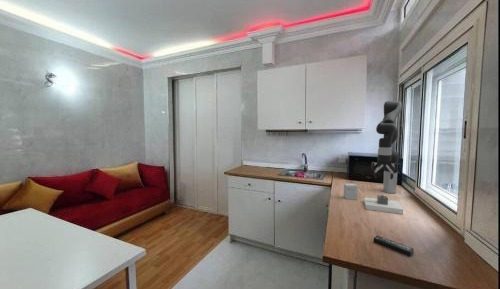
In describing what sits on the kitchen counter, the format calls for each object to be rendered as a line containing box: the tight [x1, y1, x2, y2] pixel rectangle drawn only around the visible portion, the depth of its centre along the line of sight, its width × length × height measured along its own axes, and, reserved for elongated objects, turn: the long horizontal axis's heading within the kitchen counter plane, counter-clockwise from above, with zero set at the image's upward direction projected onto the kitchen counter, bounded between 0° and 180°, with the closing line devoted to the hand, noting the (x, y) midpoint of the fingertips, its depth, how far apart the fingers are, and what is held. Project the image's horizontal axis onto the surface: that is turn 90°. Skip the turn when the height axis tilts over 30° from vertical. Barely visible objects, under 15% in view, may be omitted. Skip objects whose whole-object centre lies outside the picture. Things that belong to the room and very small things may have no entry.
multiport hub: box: [373, 235, 415, 257], centre depth 97 cm, size 4×14×2 cm, turn 38°
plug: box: [376, 194, 389, 205], centre depth 144 cm, size 5×5×8 cm
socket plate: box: [363, 197, 404, 215], centre depth 144 cm, size 16×20×4 cm
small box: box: [343, 183, 358, 200], centre depth 163 cm, size 8×6×10 cm
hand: (383, 178), depth 143 cm, fingers open, 8 cm apart
